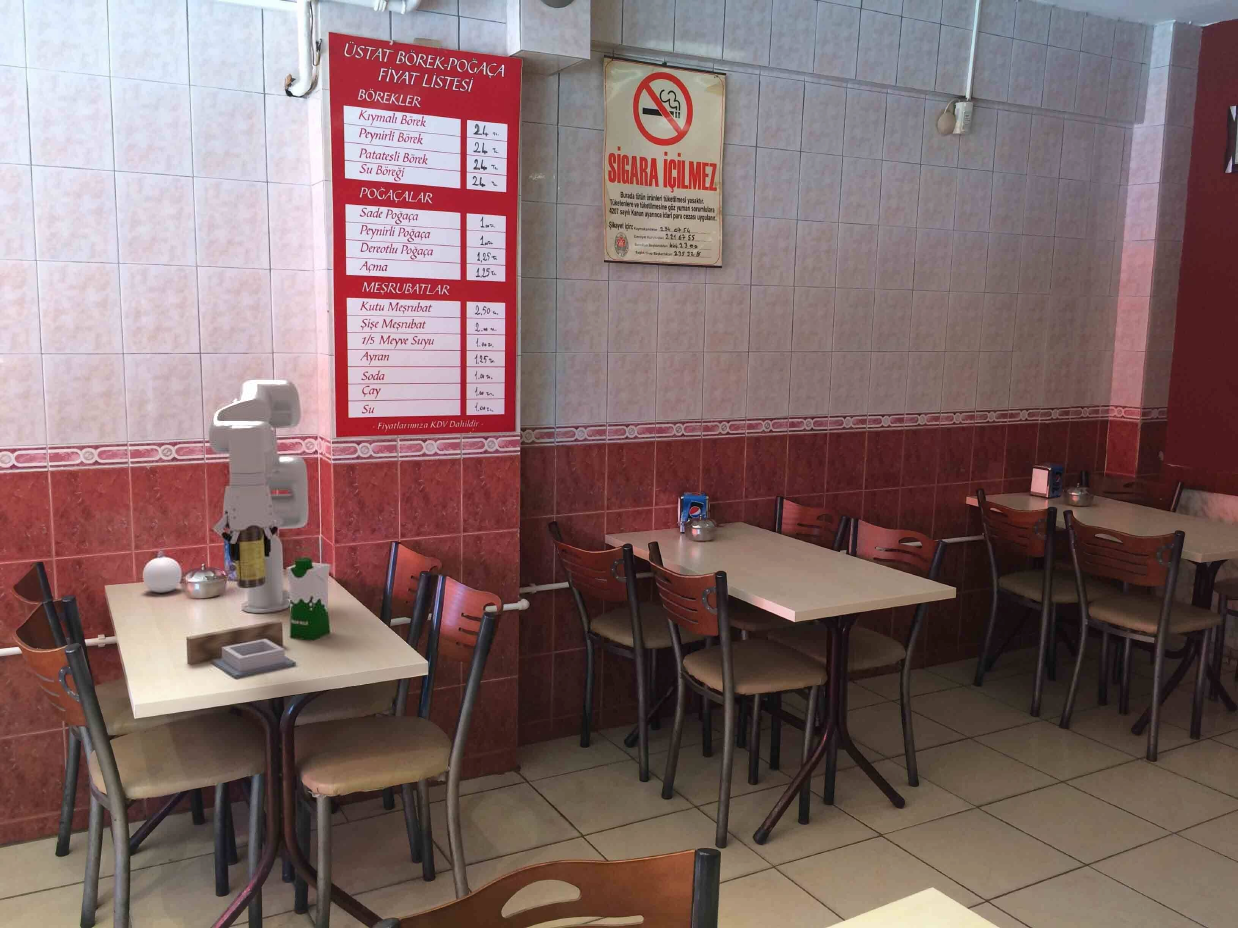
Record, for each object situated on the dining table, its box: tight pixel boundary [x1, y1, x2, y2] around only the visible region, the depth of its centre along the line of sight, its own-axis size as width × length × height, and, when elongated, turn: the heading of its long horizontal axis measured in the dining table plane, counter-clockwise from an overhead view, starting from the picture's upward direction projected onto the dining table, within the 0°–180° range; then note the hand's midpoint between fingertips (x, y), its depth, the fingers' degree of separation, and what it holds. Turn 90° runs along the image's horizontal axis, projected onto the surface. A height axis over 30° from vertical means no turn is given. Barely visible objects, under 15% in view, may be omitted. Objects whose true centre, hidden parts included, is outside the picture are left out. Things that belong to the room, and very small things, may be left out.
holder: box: [210, 639, 297, 680], centre depth 229 cm, size 14×14×4 cm
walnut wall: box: [185, 619, 284, 665], centre depth 236 cm, size 22×2×6 cm, turn 132°
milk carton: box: [286, 557, 331, 641], centre depth 251 cm, size 9×9×20 cm
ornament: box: [142, 550, 183, 594], centre depth 291 cm, size 10×10×12 cm
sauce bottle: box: [235, 525, 266, 589], centre depth 226 cm, size 6×6×20 cm
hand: (250, 557), depth 226 cm, fingers closed on sauce bottle, 6 cm apart
